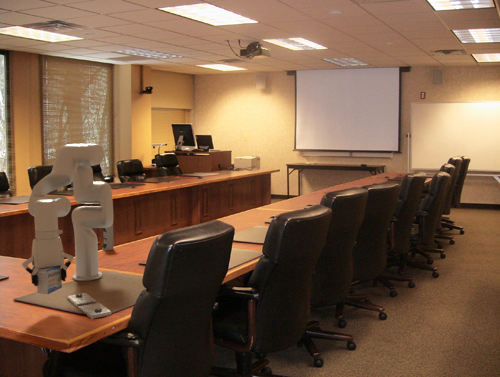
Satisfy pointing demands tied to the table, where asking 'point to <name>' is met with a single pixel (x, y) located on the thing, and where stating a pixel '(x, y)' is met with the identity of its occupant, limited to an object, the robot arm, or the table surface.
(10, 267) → the table surface
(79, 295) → the beige hinge strap
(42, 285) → the medicine box
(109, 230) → the vintage mobile phone
